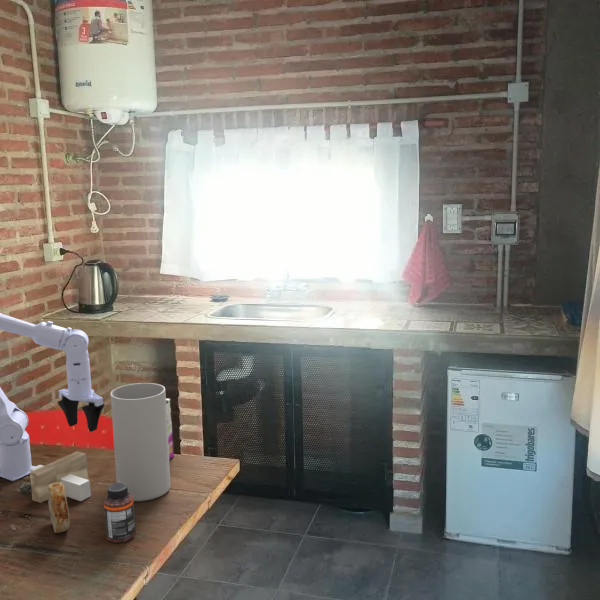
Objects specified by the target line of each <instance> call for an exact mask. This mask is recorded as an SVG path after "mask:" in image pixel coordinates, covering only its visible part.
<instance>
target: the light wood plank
mask: <svg viewBox="0 0 600 600" xmlns="http://www.w3.org/2000/svg"><path fill="white" fill-rule="evenodd" d="M69 474H71V475H74V476H78V477H81V478H84V479H87V480H89V473H88V461H87V453H85V452H82V451H80V450H79V451H75V452H72V453H71V454H68V455H66V456H64V457H61V458H60V459H59V458H58V459H57V460H55V461H52V462H50V463H47V464H45V465H43V467H41V468H38V469H36V470H34V471H31V472H30V474H29V479H30V487H31V488H30V490H31V498H32V501H33V502H37V503H40V504H42V503H44V502H47V501H49V490H48V485H49V484H52V483H56V482H60V479H61V478H63V477H65V476H67V475H69Z"/></svg>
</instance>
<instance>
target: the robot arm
mask: <svg viewBox="0 0 600 600" xmlns="http://www.w3.org/2000/svg"><path fill="white" fill-rule="evenodd" d="M53 323H54V321H51V320H47V321H41V322H39V323H36V324H35V323H32V322H29V321H26V320H23V319H20V318H19V319H18V318H17V317H13V316H9V315H7V314H4V313H1V312H0V331H3V332H7V333H10V334H16V335H19V336H24V337H29V338H31V339H32V340H33V342H34V343H35V344H36V345H40V346H43V347H47V348H50V349H54V350H58V351H63V352H64V353H65V355H66V361H65V364H66V365H65V366H66V367H65V368H66V379H67V388H62V389H59V390H58V398H59V399H60V400H58V401H57V405H58V406H59V407H60V408H61V410H62V412H63V413H64V414H63V415H64V416H65V419H66V421H67V424H68V426H69V427H73V426H76V425H78V407H79V402H82V403H86V404H87V405H84V406H82V407H81V409H82V410H83V412H84V415H85V418H86V424H87V429H88V432H91V433H92V432H95V431H96V430H97V429H98V424H99V421H100V417H101V413H102V411H103V410H104V407H105V402H104V398H103V396H100V395H98V394H96V393H95V389H93V388H92V379H91V378H92V377H91V365H90V362H91V361H90V358H89V355H90V354H89V351H88V350H89V349H88V348H89V342H90V341H89V340H90V339H89V336H88V334H87V333H86V332H84V331H83V330H81V329H80V328H75V329H73V328H72V327H67V328H65V327H62V326H59V325H55V324H53ZM28 425H29V417H28V415H27V413H26V412H24V411H23V410H21V409H20V408H19V407H18V406H17V405H16V403H14V402H13V401H12V400H11V401H10V399H9V398H8V397H7V395H6V393H5V392H4V390H3V389H2V387H0V478H3V479H5V480H8V481H11V482H15V481H18V480H19V479H21V478H24V477H26V476H28V475H29V476H30V469H31V468H33V467H36V466H35V465H32V455H31V454H32V453H31V444H30V434H29V433H28V432H27V431H26V428H27V427H28Z"/></svg>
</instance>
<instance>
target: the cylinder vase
mask: <svg viewBox="0 0 600 600" xmlns="http://www.w3.org/2000/svg"><path fill="white" fill-rule="evenodd" d="M166 395H167V393H166V387H165V386H164V385H162V384H159V383H152V382H138V383H130V384H124V385H121V386H118V387H116V388H115V389H112V390H111V392H110V405H111V406H110V407H111V417H112V436H113V448H114V449H113V450H114V462H115V474H116V475H115V478H116V483H125V484H127V488H128V492H129V493H131V494H132V496H133V502H147V501H152V500H155V499H158V498H160V497H162V496H164V495H166V493H167V492H168V491H170V488H171V485H172V484H171V469H170V460H169V447H168V429H167V411H166V397H167V396H166Z"/></svg>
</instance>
